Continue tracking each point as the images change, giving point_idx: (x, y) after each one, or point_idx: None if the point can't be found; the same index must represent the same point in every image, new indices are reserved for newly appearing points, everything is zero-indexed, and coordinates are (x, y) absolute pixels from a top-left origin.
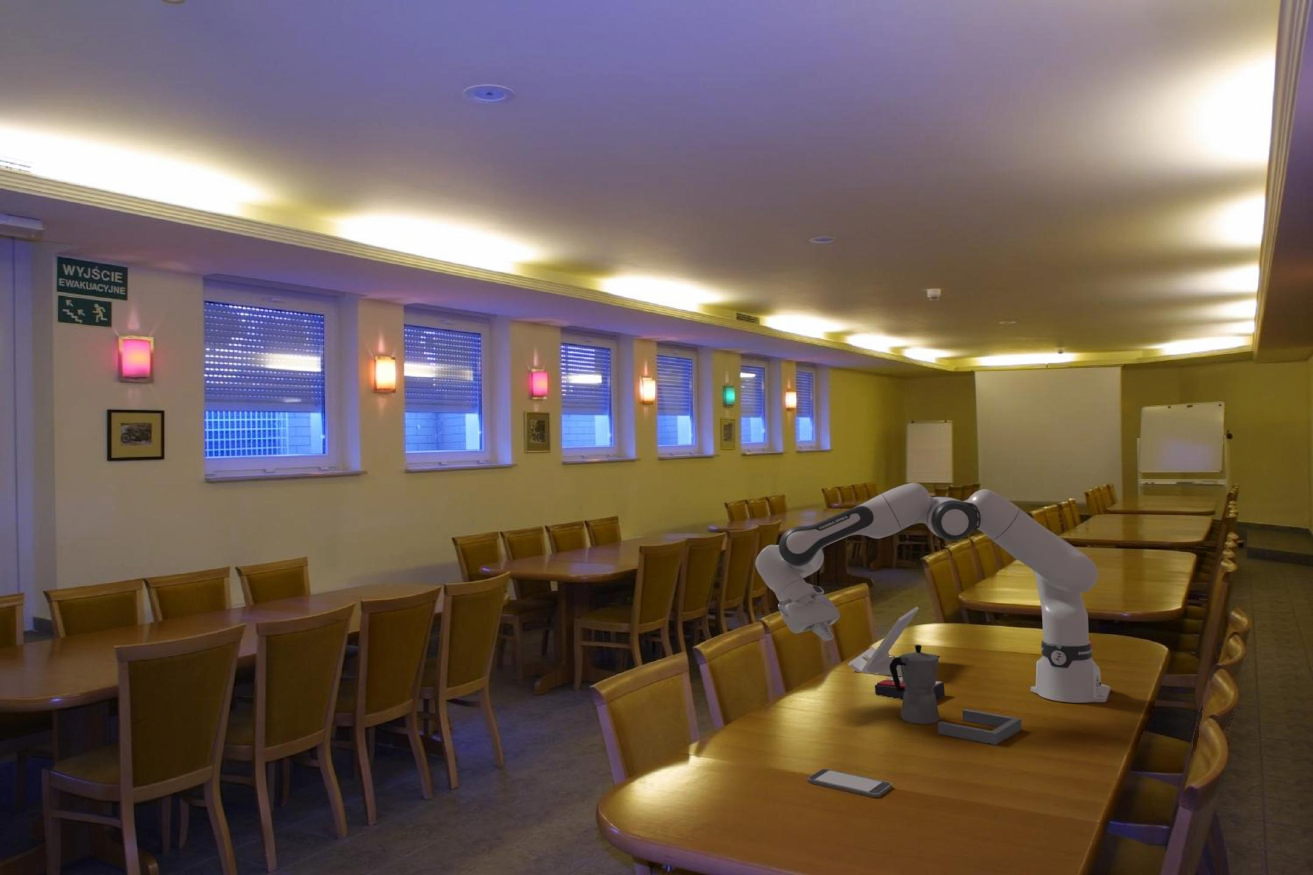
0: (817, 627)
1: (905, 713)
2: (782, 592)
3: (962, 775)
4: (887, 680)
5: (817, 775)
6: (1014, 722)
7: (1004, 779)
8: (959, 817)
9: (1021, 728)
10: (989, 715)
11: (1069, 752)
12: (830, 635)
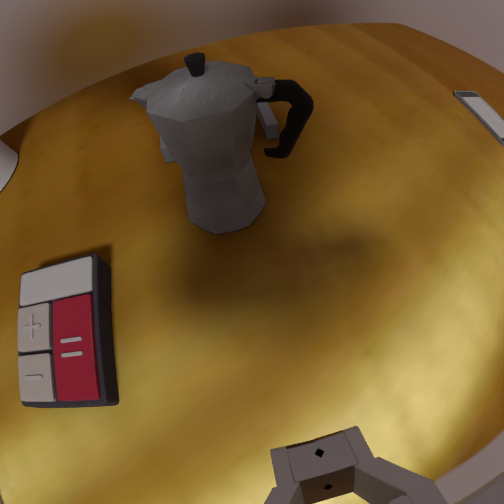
0: (433, 488)
1: (262, 195)
2: None
3: (373, 71)
4: (62, 388)
5: None
6: None
7: (343, 55)
8: (429, 56)
9: None
10: None
11: (215, 60)
12: (312, 445)
